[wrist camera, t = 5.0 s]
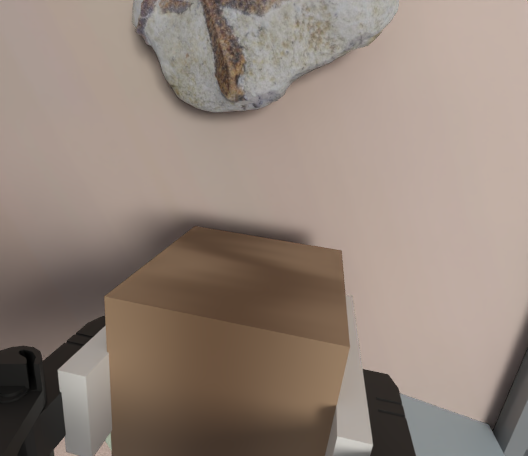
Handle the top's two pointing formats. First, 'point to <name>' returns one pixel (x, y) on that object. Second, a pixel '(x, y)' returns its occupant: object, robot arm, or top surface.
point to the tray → (515, 416)
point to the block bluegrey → (447, 431)
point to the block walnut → (227, 348)
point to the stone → (252, 44)
